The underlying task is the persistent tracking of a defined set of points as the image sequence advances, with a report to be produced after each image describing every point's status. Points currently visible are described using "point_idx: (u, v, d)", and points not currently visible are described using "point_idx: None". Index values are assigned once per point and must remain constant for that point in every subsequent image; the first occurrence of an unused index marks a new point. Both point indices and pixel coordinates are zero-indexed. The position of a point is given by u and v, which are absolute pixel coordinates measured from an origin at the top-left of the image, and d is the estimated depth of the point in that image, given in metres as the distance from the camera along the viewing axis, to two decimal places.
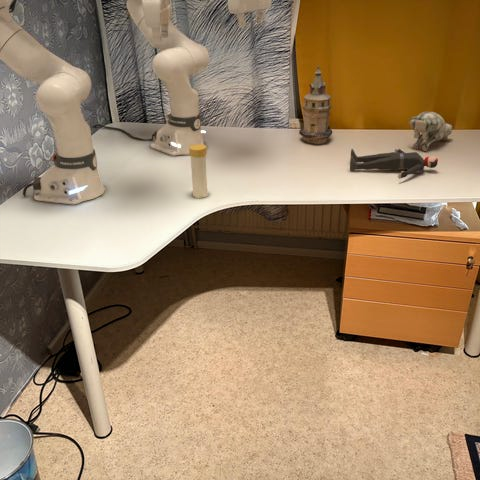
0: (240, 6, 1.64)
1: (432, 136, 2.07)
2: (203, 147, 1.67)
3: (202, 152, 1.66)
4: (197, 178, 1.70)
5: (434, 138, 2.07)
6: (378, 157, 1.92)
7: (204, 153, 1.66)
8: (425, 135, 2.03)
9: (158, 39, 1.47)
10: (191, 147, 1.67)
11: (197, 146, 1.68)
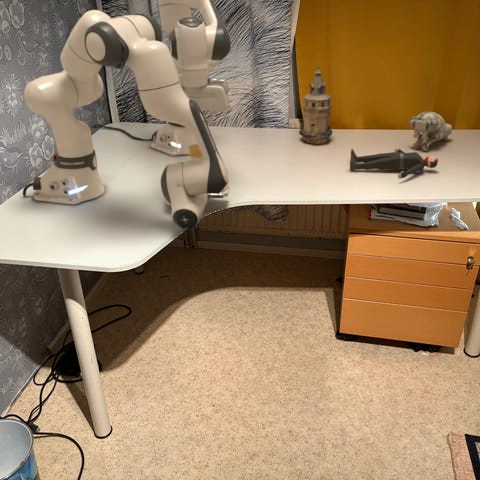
0: None
1: (432, 136, 2.07)
2: None
3: None
4: None
5: (434, 138, 2.07)
6: (378, 157, 1.92)
7: None
8: (425, 135, 2.03)
9: None
10: (191, 147, 1.67)
11: (197, 146, 1.68)
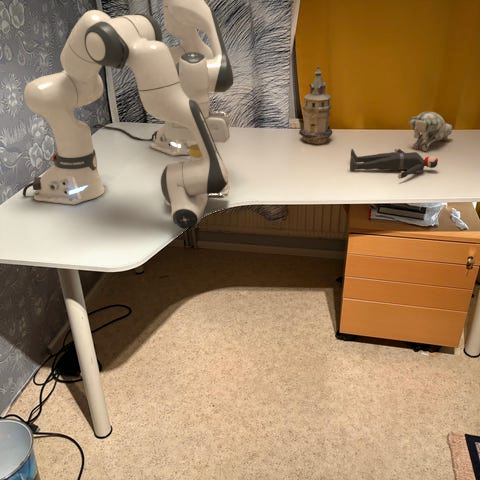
0: (168, 133, 1.65)
1: (432, 136, 2.07)
2: None
3: None
4: None
5: (434, 138, 2.07)
6: (378, 157, 1.92)
7: None
8: (425, 135, 2.03)
9: None
10: (191, 147, 1.67)
11: (197, 146, 1.68)
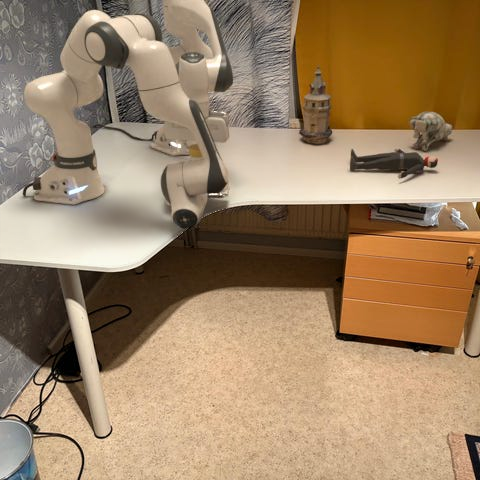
0: (168, 133, 1.65)
1: (432, 136, 2.07)
2: None
3: None
4: None
5: (434, 138, 2.07)
6: (378, 157, 1.92)
7: None
8: (425, 135, 2.03)
9: None
10: (195, 148, 1.65)
11: (196, 146, 1.67)
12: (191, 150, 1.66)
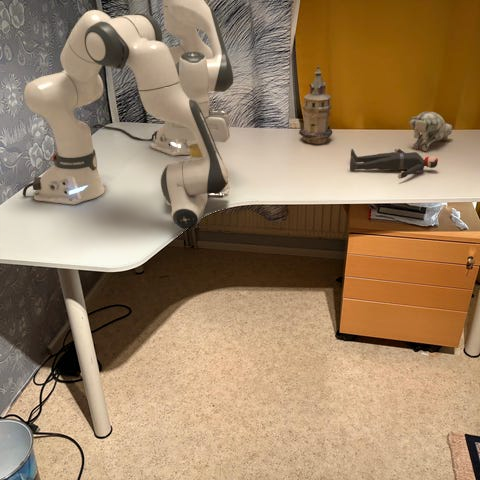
0: (168, 132, 1.65)
1: (432, 136, 2.07)
2: (195, 144, 1.69)
3: None
4: None
5: (434, 138, 2.07)
6: (378, 157, 1.92)
7: None
8: (425, 135, 2.03)
9: None
10: None
11: (196, 146, 1.67)
12: None
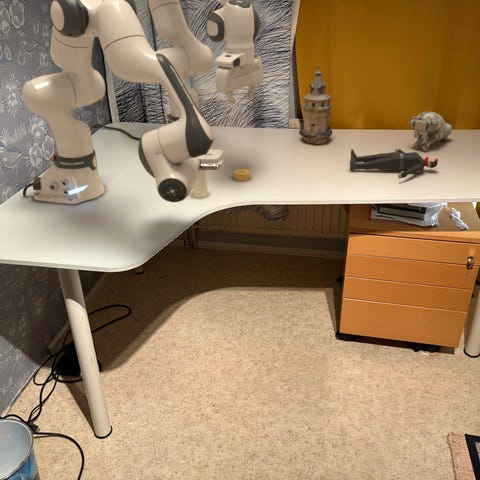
0: (228, 86, 1.64)
1: (432, 136, 2.07)
2: (246, 171, 1.86)
3: (248, 175, 1.85)
4: (197, 178, 1.70)
5: (434, 138, 2.07)
6: (378, 157, 1.92)
7: None
8: (425, 135, 2.03)
9: None
10: (237, 173, 1.85)
11: (240, 171, 1.86)
12: None
